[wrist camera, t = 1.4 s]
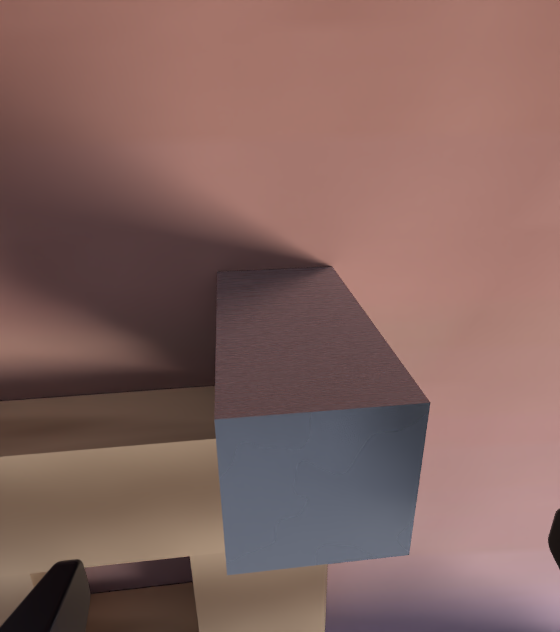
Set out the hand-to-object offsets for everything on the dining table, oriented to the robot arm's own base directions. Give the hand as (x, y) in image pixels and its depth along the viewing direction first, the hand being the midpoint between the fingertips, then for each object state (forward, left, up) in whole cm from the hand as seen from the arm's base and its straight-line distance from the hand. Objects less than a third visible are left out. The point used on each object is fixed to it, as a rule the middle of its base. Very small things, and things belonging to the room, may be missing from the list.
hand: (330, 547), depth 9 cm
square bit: (+1, 0, -9) cm, 9 cm away
